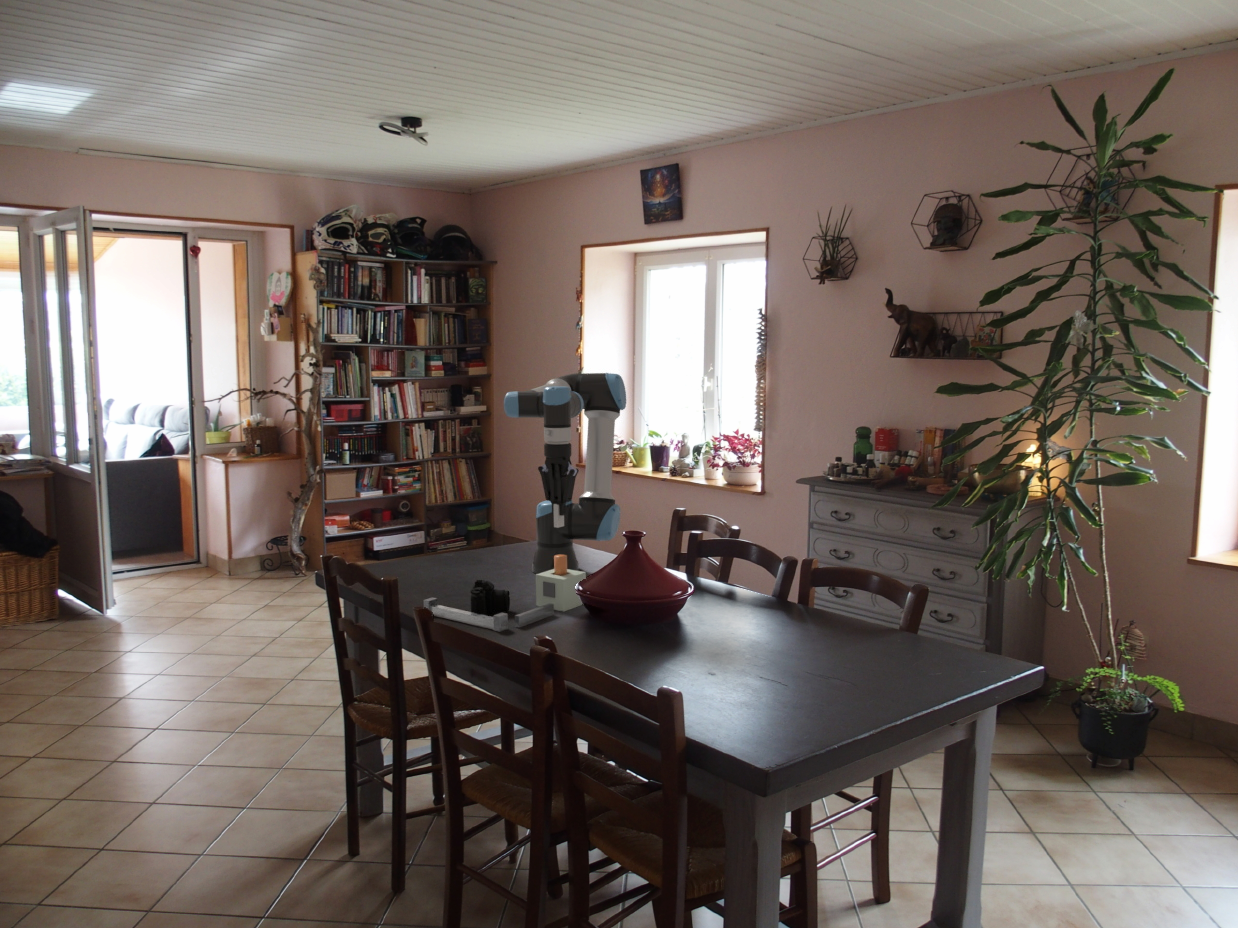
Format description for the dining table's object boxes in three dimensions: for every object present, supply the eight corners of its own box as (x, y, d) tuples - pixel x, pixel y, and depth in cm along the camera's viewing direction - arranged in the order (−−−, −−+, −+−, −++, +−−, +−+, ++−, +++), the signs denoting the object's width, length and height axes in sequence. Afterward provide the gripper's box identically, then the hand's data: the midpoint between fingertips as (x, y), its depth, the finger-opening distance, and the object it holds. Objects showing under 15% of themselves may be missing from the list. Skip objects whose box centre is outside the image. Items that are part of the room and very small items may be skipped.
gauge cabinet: (558, 597, 274) (558, 567, 273) (586, 603, 268) (585, 572, 267) (535, 606, 265) (534, 574, 264) (562, 611, 260) (562, 579, 258)
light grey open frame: (474, 598, 274) (474, 584, 274) (553, 614, 257) (553, 600, 256) (423, 614, 258) (423, 599, 258) (504, 633, 241) (504, 617, 241)
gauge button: (559, 574, 268) (559, 553, 267) (569, 576, 266) (569, 555, 265) (551, 577, 265) (551, 556, 265) (561, 579, 263) (561, 557, 262)
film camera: (503, 621, 252) (503, 588, 250) (467, 621, 252) (466, 588, 251) (512, 605, 267) (511, 574, 266) (478, 605, 267) (477, 574, 266)
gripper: (530, 442, 262) (532, 526, 265) (567, 445, 254) (568, 531, 257) (548, 440, 268) (549, 521, 271) (584, 442, 260) (585, 526, 263)
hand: (559, 526), depth 264 cm, fingers closed
